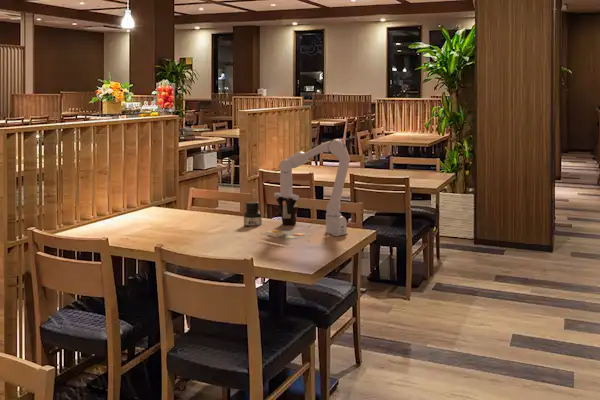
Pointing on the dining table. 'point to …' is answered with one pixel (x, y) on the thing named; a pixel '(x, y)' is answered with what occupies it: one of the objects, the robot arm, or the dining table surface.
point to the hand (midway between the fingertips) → (286, 213)
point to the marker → (285, 211)
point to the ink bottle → (252, 214)
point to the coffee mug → (291, 220)
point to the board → (287, 234)
